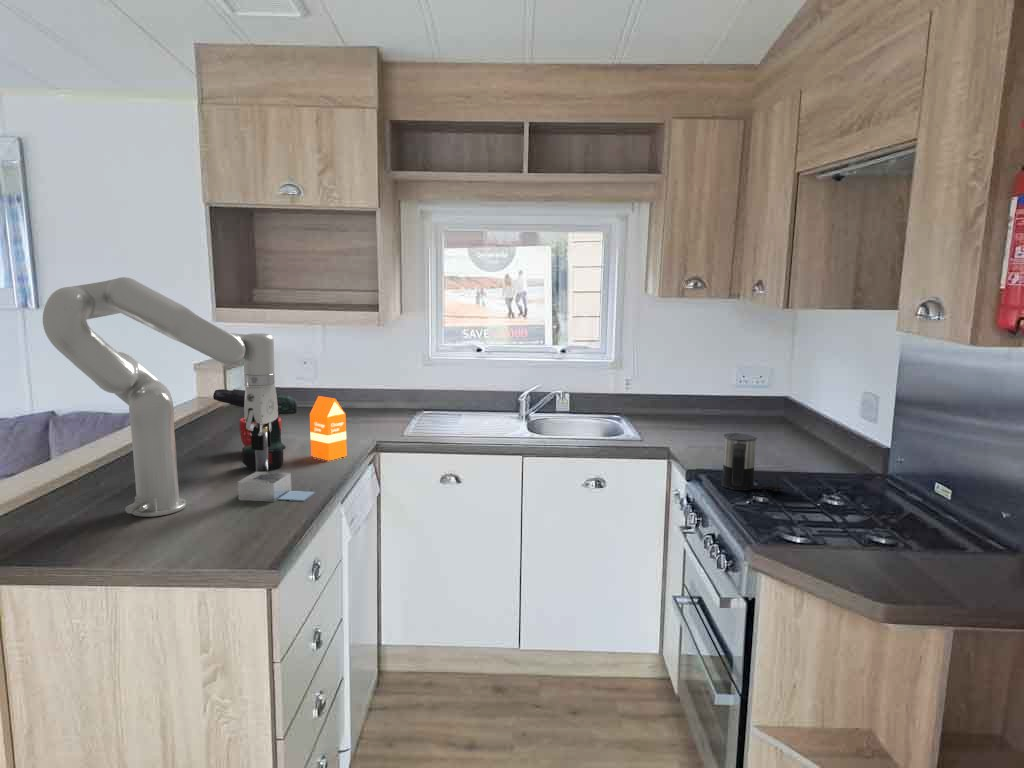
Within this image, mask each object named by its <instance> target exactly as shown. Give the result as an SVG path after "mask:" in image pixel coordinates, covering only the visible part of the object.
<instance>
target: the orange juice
mask: <svg viewBox="0 0 1024 768" xmlns="http://www.w3.org/2000/svg"><path fill="white" fill-rule="evenodd" d="M312 406H313V407H312V409H311V411H310V412H309V428H310V432H309V433H310V434H309V436H310V438H309V439H310V452H311V453H310V454H311V455H310V457H311V456H313V457H317V458H321V459H325V460H328V461H327V462H330V461H329V460H333V461H335V460H334V459H337V460H339V459H338V458H340V459H342V458H341V457H344V458H346V457H345V456H347V457H348V454H347V453H348V452H347V451H348V450H347V420H346V419H347V417H346V412H345V411H344V410H343V408H342V406H341V405H340V404H339V402H338V401H337V399H336V398H333V397H326V396H320V395H318V396H317V398H316V400H315V402H314V405H312Z"/></svg>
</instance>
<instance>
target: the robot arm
mask: <svg viewBox="0 0 1024 768" xmlns="http://www.w3.org/2000/svg"><path fill="white" fill-rule="evenodd" d="M117 314H122V315H124V316H126V317H128V318H130V319H132V320H133V321H136V322H138V323H141V324H143V326H146V327H148V328H150V329H152V330H154V331H156V332H158V333H160V334H162V335H164V336H166V337H168V338H169V339H171V340H174V341H177V342H179V343H180V344H184V345H185V346H188V347H190V348H191V349H193V350H195V351H197V352H199V353H201V354H203V355H205V356H206V357H209V358H211V359H213V360H215V361H217V362H219V363H221V364H224V365H228V366H229V365H235V364H238V363H240V362H241V361H242V360H243V376H244V377H243V379H244V380H243V381H244V387H245V400H244V407H243V410H244V412H243V413H244V414H243V416H244V418H245V422H246V423H247V424H246V429H248V430H249V431H250V435H251V445H252V450H264V435H262V425H265V426H267V429H268V447H270V446H271V430H272V428H271V425H272V422H273V421H274V420H276V419H277V418H278V417H279V416H278V404H277V394H278V393H277V389H276V384H275V381H276V380H275V377H276V376H275V349H274V348H275V347H274V345H275V344H274V343H275V342H274V337H273V336H272V334H269V333H258V332H257V333H248V334H244V333H234V332H229V331H227V330H226V329H223V328H221V327H219V326H217V325H214V323H212V322H210V321H208V320H206V319H204V318H202V317H201V316H199V315H198V314H197V313H195V312H193V311H192V310H191V309H189V308H188V307H186V306H184V305H183V304H181V303H180V302H177V301H175V300H174V299H172V298H169V297H167V296H165V295H163V294H161V293H160V292H158V291H156V290H154V289H152V288H150V287H148V286H147V285H145V284H142V283H141V282H139V281H137V280H135V279H133V278H131V277H125V276H123V277H117V278H113V279H108V280H105V281H104V280H103V281H98V282H92V283H85V284H80V285H73V286H66V287H65V286H64V287H61V288H58V289H56V290H55V291H53V293H51V295H49V297H48V298H47V301H46V303H45V304H44V307H43V312H42V327H43V329H44V333H45V336H46V337H47V339H48V340H49V341H50V344H52V346H53V348H55V349H56V350H57V351H58V352H59V353H60V354H61V355H63V356H64V357H65V358H66V359H67V360H68V361H70V363H72V364H73V365H74V366H75V367H76V368H77V369H79V371H81V372H82V373H83V374H84V375H85V376H87V377H88V378H89V379H91V381H92V382H93V383H94V384H96V386H98V387H99V388H100V389H101V390H103V391H104V392H107V393H110V394H114V395H115V396H117V398H119V399H120V400H121V401H123V402H124V403H125V405H128V415H129V424H130V432H131V433H130V434H131V444H132V454H133V455H132V456H133V468H134V477H135V478H134V479H135V481H134V482H135V492H136V495H135V496H134V502H133V503H131V504H129V505H127V506H126V507H125V508H124V509H125V512H126V514H131V515H133V516H135V517H143V518H145V517H147V518H148V517H152V518H153V517H159V516H161V517H162V516H166V515H170V514H174V513H178V512H180V511H181V510H183V509H184V508H186V506H187V500H186V499H185V498H181V497H180V492H179V478H178V475H179V474H178V465H177V464H178V462H177V448H176V435H175V419H174V418H175V412H174V411H175V410H174V403H173V398H172V394H171V392H170V390H169V389H168V388H167V386H165V384H164V383H162V382H161V381H160V380H159V379H157V377H156V376H154V375H153V374H152V373H151V372H150V371H148V369H147V368H145V367H144V366H143V365H141V363H139V362H138V360H136V359H135V358H133V357H132V356H131V355H129V354H127V353H125V352H123V351H122V352H121V351H117V350H116V349H115V348H113V347H112V346H111V345H110V344H109V343H107V342H106V341H105V340H104V339H103V337H102V336H100V335H99V334H98V333H97V332H95V331H94V330H93V329H92V328H91V327H90V326H89V324H88V321H87V320H91V319H96V318H101V317H107V316H113V315H117ZM254 422H257V423H254ZM258 423H259V424H258ZM255 426H258V428H257V427H255Z"/></svg>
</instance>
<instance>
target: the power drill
mask: <svg viewBox="0 0 1024 768" xmlns="http://www.w3.org/2000/svg"><path fill="white" fill-rule="evenodd" d="M276 394H277V404H278V417H279V415H294V414H297V413H298V412H297V411H298V403H297V399H296V398H294V397H291V396H290V395H288V394H281V393H276ZM212 398H213V400H214V401H218V402H219V403H225V404H230V405H232V406H236V407H241V408H244V400H245V390H244V389H235V388H234V389H232V390H231V389H223V388H222V389H220V388H219V389H215V391H214V392H213V395H212ZM271 428H272V430H271V446H270V447H268V468H269V470H275V468H278V469H280V467H282V466H283V465H284V450H285V449H286V445H285V444H283V443H282V430H281V431H280V425H279V421H278V418H277V419H276V420H274V421H273V422H272V425H271ZM244 447H245V446H244ZM244 447H243V448H244ZM241 460H242V463H243V465H245V466H246V467H247V468H249V469H250V470H251V471H253V472H256V455H255V450H252V445H249V446H246V447H245V448H244V449H243V451H242V450H241Z"/></svg>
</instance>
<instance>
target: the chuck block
mask: <svg viewBox="0 0 1024 768" xmlns="http://www.w3.org/2000/svg"><path fill="white" fill-rule="evenodd" d="M291 474H292V473H291V472H279V471H278V472H276V471H265V472H257V471H253V473H251V474H249V475H247V476H246V477H244V478H242V479H240V480H238V481H237V492H238V500H239V501H250V502H252V501H254V502H268V503H269V502H270V503H271V502H272V503H275V502H276V501H279V498H280V497H282V496H283V495H285V494H286V493H288V492H289V491H292V475H291Z"/></svg>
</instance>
